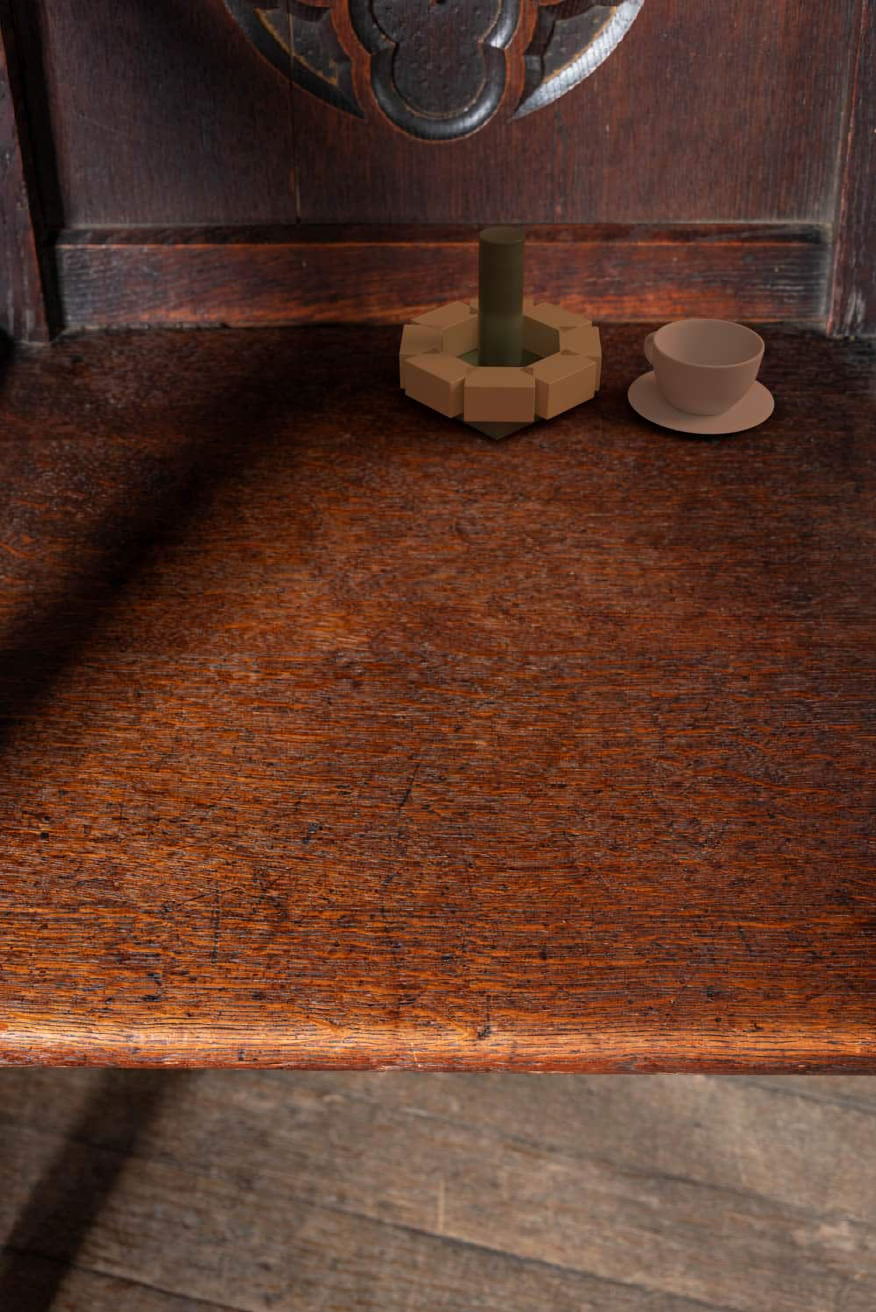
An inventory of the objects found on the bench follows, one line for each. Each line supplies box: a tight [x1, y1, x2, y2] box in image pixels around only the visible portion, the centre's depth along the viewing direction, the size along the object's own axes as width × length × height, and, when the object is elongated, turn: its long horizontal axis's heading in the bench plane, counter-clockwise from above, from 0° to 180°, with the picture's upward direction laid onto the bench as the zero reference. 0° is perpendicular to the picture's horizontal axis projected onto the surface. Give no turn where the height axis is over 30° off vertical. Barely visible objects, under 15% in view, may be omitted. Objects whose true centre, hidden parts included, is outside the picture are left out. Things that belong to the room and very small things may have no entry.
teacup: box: [627, 318, 775, 435], centre depth 86 cm, size 10×10×5 cm
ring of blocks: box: [398, 298, 603, 422], centre depth 87 cm, size 14×14×3 cm
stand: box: [453, 225, 544, 441], centre depth 85 cm, size 9×9×12 cm
